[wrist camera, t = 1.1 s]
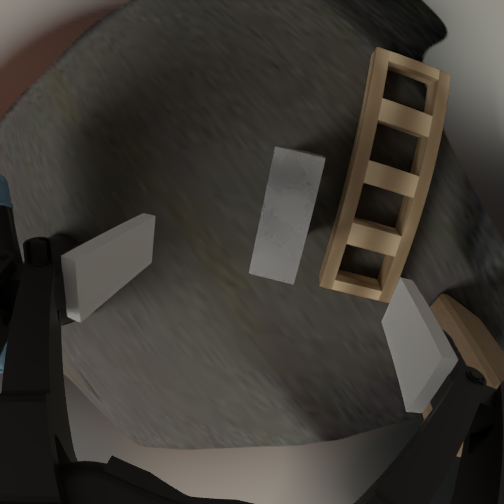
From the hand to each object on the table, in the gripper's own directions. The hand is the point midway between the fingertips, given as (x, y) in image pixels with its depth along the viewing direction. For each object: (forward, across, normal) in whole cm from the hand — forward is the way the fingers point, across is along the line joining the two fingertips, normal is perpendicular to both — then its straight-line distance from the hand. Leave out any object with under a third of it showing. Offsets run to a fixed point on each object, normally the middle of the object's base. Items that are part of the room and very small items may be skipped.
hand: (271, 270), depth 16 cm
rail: (+22, +10, +5) cm, 25 cm away
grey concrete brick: (+22, 0, 0) cm, 22 cm away
